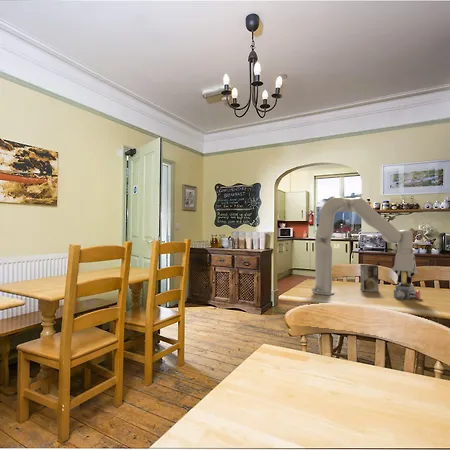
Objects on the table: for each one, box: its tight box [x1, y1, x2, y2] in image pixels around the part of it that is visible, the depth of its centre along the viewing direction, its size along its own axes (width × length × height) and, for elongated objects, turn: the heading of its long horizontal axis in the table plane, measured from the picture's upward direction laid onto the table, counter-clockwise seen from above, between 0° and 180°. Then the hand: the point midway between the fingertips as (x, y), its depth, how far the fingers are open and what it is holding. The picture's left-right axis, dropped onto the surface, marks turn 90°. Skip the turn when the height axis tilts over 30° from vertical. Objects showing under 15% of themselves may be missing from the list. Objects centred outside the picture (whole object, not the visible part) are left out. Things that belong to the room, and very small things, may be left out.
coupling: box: [400, 271, 410, 287], centre depth 176 cm, size 4×4×10 cm
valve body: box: [393, 283, 421, 301], centre depth 175 cm, size 16×11×7 cm
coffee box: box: [359, 264, 380, 292], centre depth 193 cm, size 9×6×16 cm
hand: (404, 282), depth 176 cm, fingers closed on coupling, 4 cm apart
